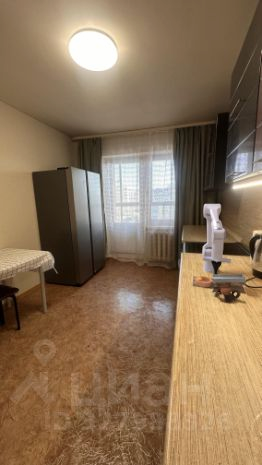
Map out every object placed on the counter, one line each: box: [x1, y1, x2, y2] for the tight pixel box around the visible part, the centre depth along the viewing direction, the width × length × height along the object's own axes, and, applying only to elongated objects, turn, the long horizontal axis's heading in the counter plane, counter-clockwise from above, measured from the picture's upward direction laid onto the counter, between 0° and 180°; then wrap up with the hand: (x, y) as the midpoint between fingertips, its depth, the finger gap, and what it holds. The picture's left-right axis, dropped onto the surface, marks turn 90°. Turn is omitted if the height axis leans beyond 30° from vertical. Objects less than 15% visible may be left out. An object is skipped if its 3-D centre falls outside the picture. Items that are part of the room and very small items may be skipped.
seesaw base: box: [192, 275, 247, 294], centre depth 110 cm, size 14×26×4 cm, turn 70°
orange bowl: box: [195, 275, 213, 288], centre depth 110 cm, size 9×9×3 cm
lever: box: [212, 271, 246, 286], centre depth 109 cm, size 13×15×4 cm
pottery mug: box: [212, 285, 241, 304], centre depth 96 cm, size 12×10×8 cm
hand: (215, 273), depth 114 cm, fingers closed
